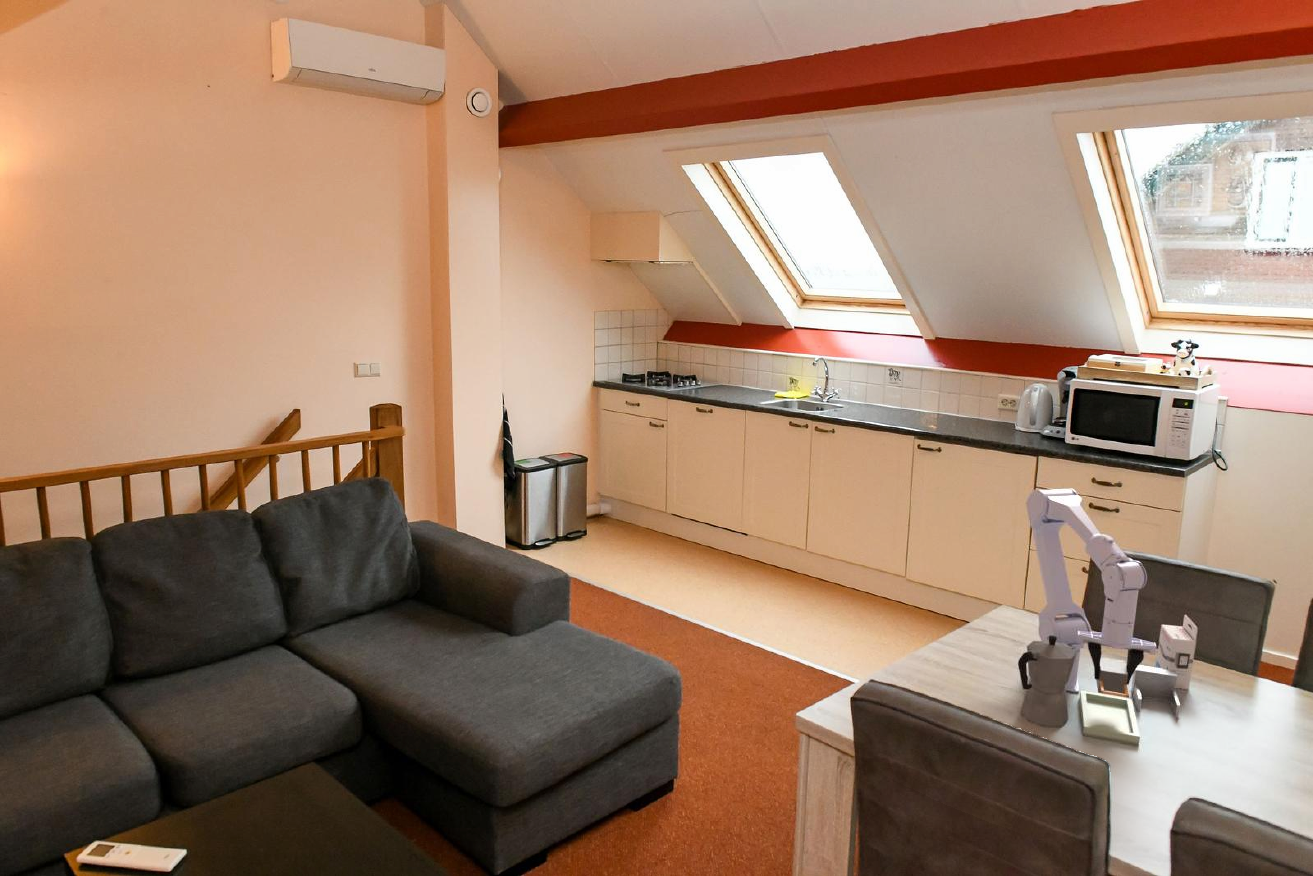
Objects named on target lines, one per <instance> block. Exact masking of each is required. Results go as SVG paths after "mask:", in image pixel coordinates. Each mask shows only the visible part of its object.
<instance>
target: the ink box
mask: <svg viewBox="0 0 1313 876" xmlns="http://www.w3.org/2000/svg"><path fill="white" fill-rule="evenodd" d="M1189 625H1190V626H1189ZM1198 629H1199V628H1198V627H1197V625H1196V624H1195V623H1194V622H1193V621H1192V619H1190V617H1188V615H1187V614H1184V615H1183V624H1182V626H1179V625H1170V624H1161V625H1160V632H1159V640H1158V647H1157V652H1156V653H1157V654H1156V660H1155V668H1161V669H1167V670H1174V671H1176V674H1177V682H1176V689H1180V688H1181V689H1182V690H1183V689H1184V690H1189V689H1190V683H1191V678H1192V672H1193V664H1194V658H1195V652H1196V651H1195V650H1196V645H1197V638H1198V637H1197V636H1198ZM1181 689H1180V690H1181Z"/></svg>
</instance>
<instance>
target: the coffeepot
mask: <svg viewBox="0 0 1313 876" xmlns="http://www.w3.org/2000/svg"><path fill="white" fill-rule="evenodd" d="M1048 637H1049V641H1042V640H1032V641H1031V642H1030V643H1029V644H1028V645H1026V650H1027V651H1026V652H1023V654H1021V656H1020V658H1019V659H1018V661H1017V667H1018V672H1019V676H1020V682H1021V686H1022V687H1021V688H1022V689H1023V690H1025V694H1024V698H1023V702H1022V704H1021V708H1020V711H1019V712H1020V713H1021V715H1022V714H1023V715H1022V716H1023V718H1024V719H1026V720H1027V719H1028V720H1029V722H1030V723H1032V724H1035V723H1036V724H1035V725H1038V726H1041V727H1046V728H1058V727H1063V726H1064V725H1066V723H1067V721H1069V712H1068V696H1067V691H1065V685H1066V684H1067V682H1068V680H1069V677H1070V674H1071V670H1072V667H1073V663H1074V660H1075V657H1076V653H1075V652H1074V651H1073V649H1074V648H1076V647H1073V646H1072V645H1070V644H1062V643H1060V644H1059V643H1056V640H1057V637H1056V636H1048ZM1027 667H1028V668H1027ZM1027 671H1028V673H1027ZM1029 678H1030V681H1029ZM1028 681H1029V682H1030V683H1029V684H1028ZM1028 720H1027V721H1028Z"/></svg>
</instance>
